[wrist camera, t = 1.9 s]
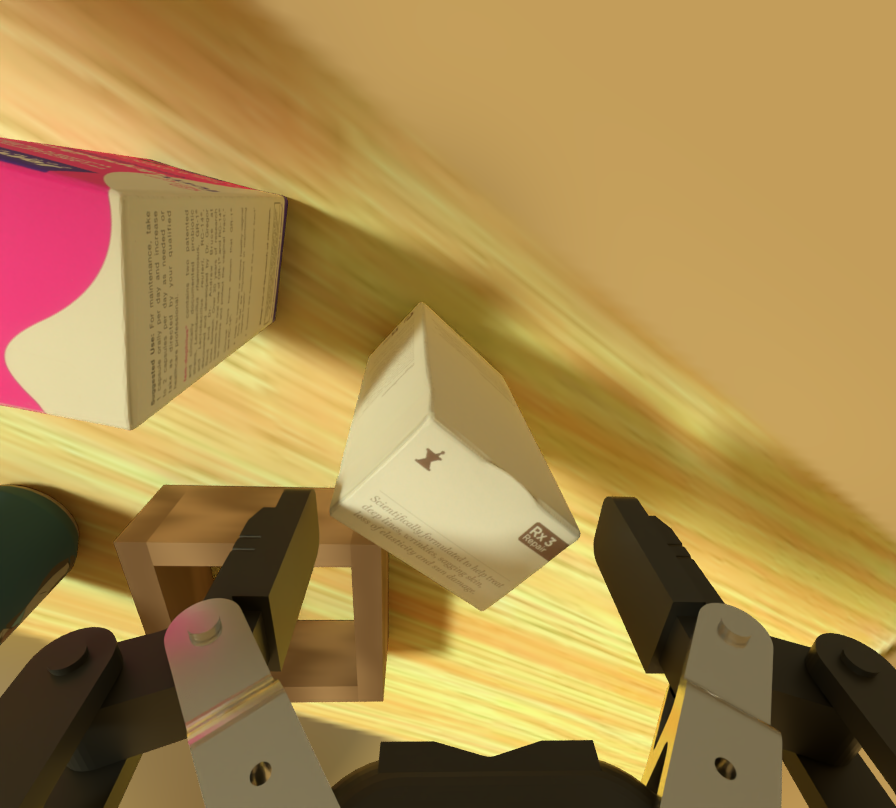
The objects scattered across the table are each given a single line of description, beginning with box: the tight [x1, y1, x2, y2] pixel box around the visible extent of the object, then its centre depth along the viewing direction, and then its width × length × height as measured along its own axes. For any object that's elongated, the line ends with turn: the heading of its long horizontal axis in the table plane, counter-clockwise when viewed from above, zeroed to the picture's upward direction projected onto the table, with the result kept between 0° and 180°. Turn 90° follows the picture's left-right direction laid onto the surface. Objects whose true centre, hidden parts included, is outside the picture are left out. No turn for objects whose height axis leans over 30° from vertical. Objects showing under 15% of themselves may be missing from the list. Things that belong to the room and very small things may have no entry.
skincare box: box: [329, 302, 580, 611], centre depth 17 cm, size 6×4×12 cm
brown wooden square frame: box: [113, 485, 389, 702], centre depth 26 cm, size 13×13×4 cm
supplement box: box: [0, 138, 288, 430], centre depth 15 cm, size 6×6×12 cm
